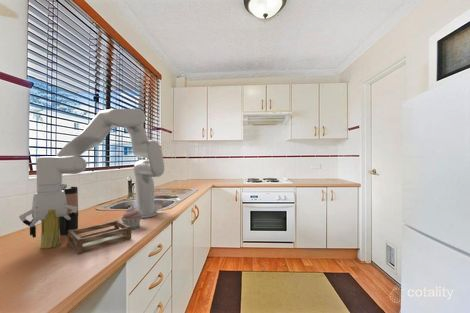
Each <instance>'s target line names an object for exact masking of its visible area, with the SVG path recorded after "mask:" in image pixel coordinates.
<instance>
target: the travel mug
mask: <svg viewBox="0 0 470 313" xmlns="http://www.w3.org/2000/svg"><path fill="white" fill-rule="evenodd" d="M63 190H64V192H65V195H66V202H67V205H71V206H75V207H77V208H78V209H77V211H76V212H75V215H74V216H73V217H72V218H71V219H70V227H69V228H68V230H75V229H79V196H78V194H79V193H78V191H79V190H78V186H71V187H68V188H67V187H66V188H63ZM71 212H72V209H69V208H67V215H69V214H70V213H71ZM64 220H65V217H63V216H62V217H59V223H60V236H66V235H67V236H68V230H67V231H66V230H65V229H64Z"/></svg>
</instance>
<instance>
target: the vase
mask: <svg viewBox="0 0 470 313" xmlns="http://www.w3.org/2000/svg"><path fill="white" fill-rule="evenodd" d="M55 211H56V210H55V209H52V210H48V214H47V215H46V219H45V220H40V221H41V222H40V223H41V225H40V226H41V230H40V231H41V234H40V248H41V249H42V250H43V249H44V250H45V249H52V248H55V247H58V246H60V245H61V244H62V241H61V240H62V239H61V235H60V223H59V217H56V214H55Z"/></svg>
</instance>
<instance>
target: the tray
mask: <svg viewBox="0 0 470 313" xmlns="http://www.w3.org/2000/svg"><path fill="white" fill-rule="evenodd" d="M111 227H112V228H111ZM106 228H107V229H106ZM102 229H104V230H102ZM97 230H100V231H97ZM94 231H95V232H94ZM89 232H91V233H89ZM84 233H87V234H84ZM79 234H83V235H79ZM130 239H131V240H132V229H131V226H127V225H125V224H123V222H122V221H120V220H118V219H115V220H113V221H109V222H104V223H103V222H102V223H100V224H94V225H90V226H86V227H81V228H78V229H75V230H68V234H67V244H68V245H69V246H70V247H71V248H72V249H73V250H74V251H75V252H76V254H77V255H81V254H84V253H87V252H91V251H95V250H99V249H103V248H105V247H109V246H112V245H116V244H119V243H122V242H126V241H131V240H130Z"/></svg>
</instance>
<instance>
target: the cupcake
mask: <svg viewBox="0 0 470 313" xmlns="http://www.w3.org/2000/svg"><path fill="white" fill-rule="evenodd" d="M140 215H141V213H140V212H139V211H138V210H137V209H136V208H134V206H130V207H128V208H127V209H126V211H124V212H123V215H122V217H121V218H120V219H121V223H123V224H125V225H127V226H131V230H134V229H137V228H139V227H140V224H141V223H140V222H141V219H143V218H142V216H140Z"/></svg>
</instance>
